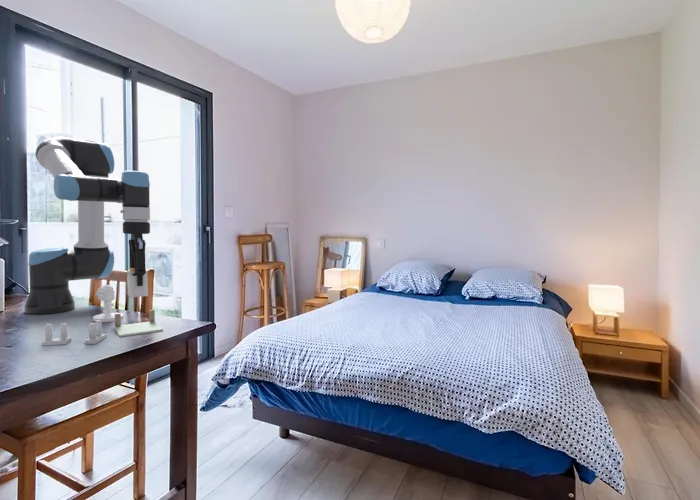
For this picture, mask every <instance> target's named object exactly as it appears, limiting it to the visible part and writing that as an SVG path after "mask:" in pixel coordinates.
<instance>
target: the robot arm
mask: <svg viewBox="0 0 700 500" xmlns="http://www.w3.org/2000/svg"><path fill="white" fill-rule="evenodd" d="M39 143H40V144H38V145H37V147H36V148H35V158H36V160H37V162H38V163H39V164H40V166H42V167H43V169H45V170H48V171H49V173H50V174H51V175H52V177H53V178H54V180H53V191H54V196H55V197H56V198H57V199H58V200H64V201H65V200H66V201H70V202H74V201H76V202H77V211H78V212H77V215H78V216H77V217H78V218H77V220H78V221H77V222H78V223H77V224H78V225H77V227H78V229H77V231H78V232H77V235H78V237H77V238H78V241H76V243H75V244H74V245H73V250H69V249H68V247H66V246H59V247H48V248H43V249H38V250H37V249H36V250H33V251H31V252H30V253H29V256H28V272H29V273H28V274H29V293H28V295H27V298H26V301H25V305H24V306H23V307H24V313H25V314H27V315H28V314H29V315H49V314H57V313H62V312H69V311H71V310H73V309H75V308H76V304H75V303H76V302H75V300H74V298H73V295H72V293H71V291H70V289H69V288H70V287H69V285H70V284H69V282H71V281H79V280H80V281H82V280H83V281H84V280H93V279H94V280H98V279H102V278H107V277H109V276H110V275H111V273H112V271H113V269H114V265H115V256H114V250H112V249H110V248H109V244H107V243H106V241H105V203H117V204H122V205H121V206H122V209H121V210H119V211H120V214H122V220H123V222H122V233H123V234H126V235H130V239H128V247H129V249H128V250H129V251H128V252H129V253H128V254H129V255H128V256H129V268H135V274H132V276H134V296H135V297H134V298H138V297H137V296H142V297H146V296H145V292H144V274H145V273H146V270H147V268H146V244H147V243H146V241H145V239H144V236H143V235H147V234H149V235H150V233H151V223H150V222H149V221H150V220H151V207H150V185H151V183H150V176H149V174H148V172H145V171H139V170H124V171H122V173H121V179H119V178H110V177H109V175H111V174H113V173H114V171H115V157H114V154H113V150H112V149H111V147H110V146H109V145H108V144H106V143H104V142H99V141H98V142H97V141H92V140H85V139H78V138H70V137H64V136H57V137H56V136H55V137H51V138H48V139H45V140H44V141H42V142H39Z"/></svg>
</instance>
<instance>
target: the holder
mask: <svg viewBox="0 0 700 500" xmlns="http://www.w3.org/2000/svg"><path fill="white" fill-rule="evenodd" d="M148 311H149V313H148V314H149V315H148V316H149V317H148V319H149V321H143V322H136V323H134V322H133V323H129V324H127V323H126V324H121V323H122V322H121V321H122V319H121V314H119V313H120V312H117V313H118V314H115V321H114V326H113V328H114V330H115V332H116V333H117V336H118V337H119V338H123V337H130V336H137V335H143V334H151V333H158V332H159V333H160V332H163V331H164V328H162V327H161V326H160V324H158V323H157V322H156V317H155V316H156V315H155V309H150V310H148Z"/></svg>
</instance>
